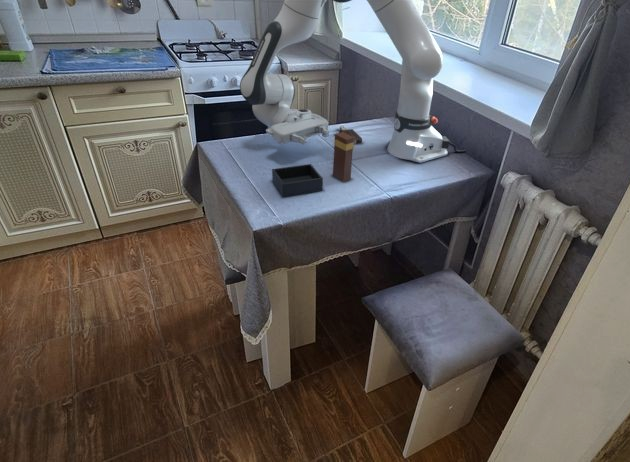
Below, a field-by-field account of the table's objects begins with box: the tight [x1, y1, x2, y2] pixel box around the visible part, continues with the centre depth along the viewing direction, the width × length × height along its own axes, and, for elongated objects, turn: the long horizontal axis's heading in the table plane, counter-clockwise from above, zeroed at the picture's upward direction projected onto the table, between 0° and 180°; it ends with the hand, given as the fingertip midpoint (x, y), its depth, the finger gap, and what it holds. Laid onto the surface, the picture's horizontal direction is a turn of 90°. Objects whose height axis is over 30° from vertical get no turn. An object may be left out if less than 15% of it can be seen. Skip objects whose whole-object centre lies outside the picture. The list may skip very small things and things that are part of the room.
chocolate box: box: [332, 132, 355, 183], centre depth 132 cm, size 3×5×14 cm, turn 47°
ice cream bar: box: [339, 125, 363, 145], centre depth 163 cm, size 5×2×15 cm
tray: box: [271, 163, 324, 198], centre depth 128 cm, size 12×10×4 cm
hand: (316, 138), depth 137 cm, fingers open, 8 cm apart
